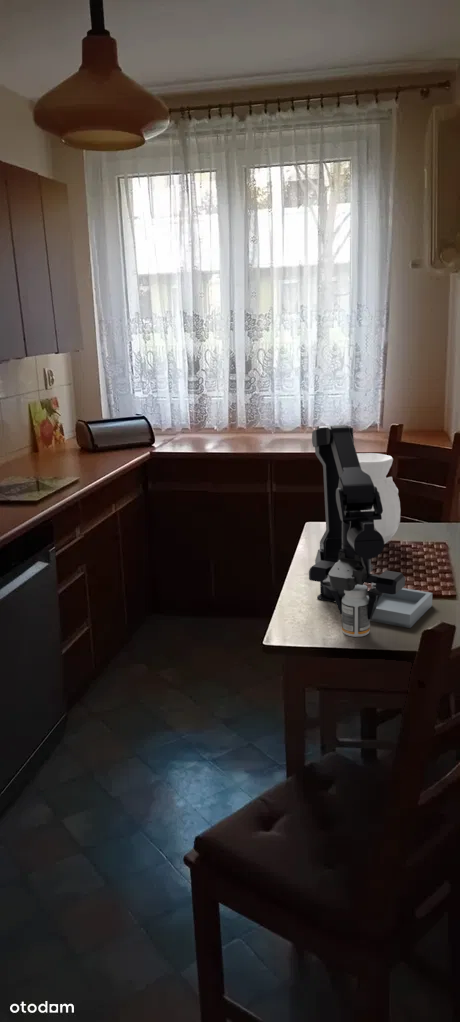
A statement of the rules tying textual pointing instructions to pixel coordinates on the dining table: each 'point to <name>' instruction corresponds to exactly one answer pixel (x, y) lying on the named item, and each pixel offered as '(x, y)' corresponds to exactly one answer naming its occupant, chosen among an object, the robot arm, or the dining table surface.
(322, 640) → the dining table surface
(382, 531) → the pitcher
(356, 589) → the pill bottle
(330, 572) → the robot arm
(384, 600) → the tray
